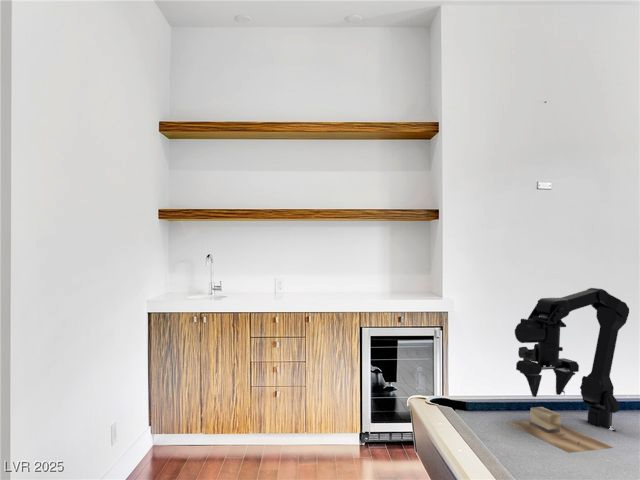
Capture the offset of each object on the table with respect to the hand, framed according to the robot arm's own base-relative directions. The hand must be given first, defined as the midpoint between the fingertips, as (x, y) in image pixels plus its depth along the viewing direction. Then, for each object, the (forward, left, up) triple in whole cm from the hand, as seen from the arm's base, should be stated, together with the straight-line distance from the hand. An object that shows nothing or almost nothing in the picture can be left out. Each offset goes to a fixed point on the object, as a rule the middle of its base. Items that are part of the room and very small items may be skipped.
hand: (546, 395), depth 148 cm
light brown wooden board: (0, +5, -11) cm, 12 cm away
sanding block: (0, 0, -10) cm, 10 cm away
